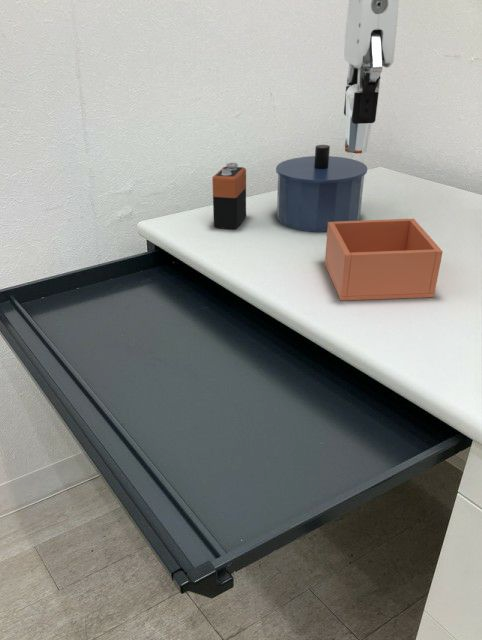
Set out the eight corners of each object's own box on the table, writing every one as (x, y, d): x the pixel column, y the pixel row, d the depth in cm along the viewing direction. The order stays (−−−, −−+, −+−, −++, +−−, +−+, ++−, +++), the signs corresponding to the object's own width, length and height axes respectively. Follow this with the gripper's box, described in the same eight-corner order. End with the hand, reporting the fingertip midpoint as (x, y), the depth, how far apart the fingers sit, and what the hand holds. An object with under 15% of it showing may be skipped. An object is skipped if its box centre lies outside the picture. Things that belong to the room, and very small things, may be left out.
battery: (246, 217, 110) (246, 161, 104) (236, 230, 104) (236, 172, 99) (224, 215, 111) (223, 160, 105) (212, 228, 106) (211, 171, 100)
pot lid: (355, 160, 110) (358, 134, 108) (376, 184, 97) (380, 155, 95) (271, 163, 110) (272, 138, 108) (281, 188, 98) (282, 159, 95)
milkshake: (338, 156, 87) (345, 81, 82) (342, 146, 92) (349, 74, 86) (369, 157, 86) (379, 81, 80) (372, 147, 90) (381, 75, 85)
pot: (349, 203, 114) (354, 157, 109) (367, 230, 102) (373, 180, 97) (273, 206, 114) (274, 161, 110) (282, 233, 102) (283, 184, 98)
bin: (407, 260, 91) (414, 218, 87) (433, 297, 80) (443, 251, 77) (324, 263, 91) (327, 221, 87) (340, 300, 81) (345, 255, 77)
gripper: (424, -35, 69) (400, 130, 79) (386, -33, 83) (370, 107, 93) (359, -32, 69) (344, 132, 79) (333, -31, 83) (323, 109, 93)
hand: (358, 117), depth 86 cm, fingers closed on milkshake, 4 cm apart
